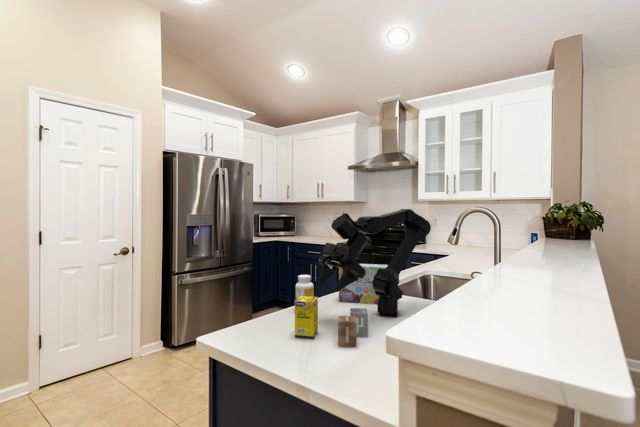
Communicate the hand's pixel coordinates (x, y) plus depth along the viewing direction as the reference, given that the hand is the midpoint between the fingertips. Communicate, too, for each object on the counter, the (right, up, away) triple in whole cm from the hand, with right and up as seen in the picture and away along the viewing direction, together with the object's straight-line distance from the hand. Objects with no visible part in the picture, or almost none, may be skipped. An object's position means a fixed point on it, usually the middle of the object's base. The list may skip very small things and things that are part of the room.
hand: (326, 288), depth 109 cm
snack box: (+16, -12, +30) cm, 36 cm away
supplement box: (-6, -13, -4) cm, 15 cm away
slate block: (+10, -13, -4) cm, 17 cm away
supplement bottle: (-8, -13, +19) cm, 24 cm away
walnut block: (+5, -13, -11) cm, 18 cm away
